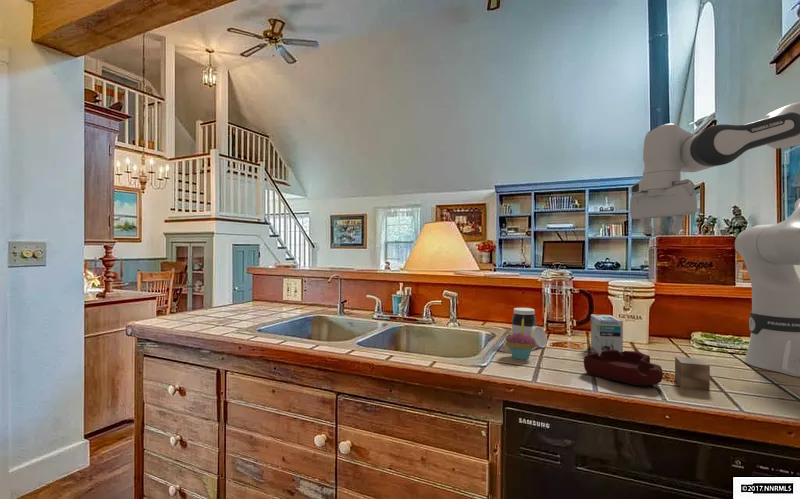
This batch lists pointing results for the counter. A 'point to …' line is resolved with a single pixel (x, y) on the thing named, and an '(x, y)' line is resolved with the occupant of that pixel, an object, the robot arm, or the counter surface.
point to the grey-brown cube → (692, 373)
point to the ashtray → (624, 367)
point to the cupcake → (520, 344)
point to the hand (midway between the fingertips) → (660, 233)
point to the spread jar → (528, 326)
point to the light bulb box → (606, 333)
